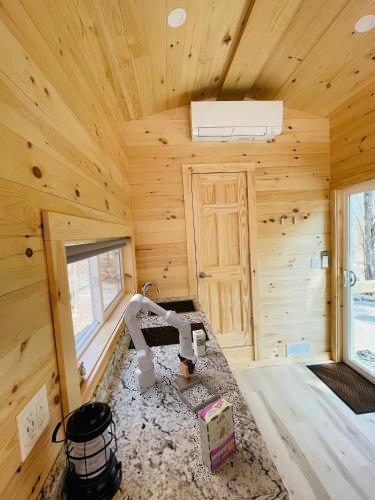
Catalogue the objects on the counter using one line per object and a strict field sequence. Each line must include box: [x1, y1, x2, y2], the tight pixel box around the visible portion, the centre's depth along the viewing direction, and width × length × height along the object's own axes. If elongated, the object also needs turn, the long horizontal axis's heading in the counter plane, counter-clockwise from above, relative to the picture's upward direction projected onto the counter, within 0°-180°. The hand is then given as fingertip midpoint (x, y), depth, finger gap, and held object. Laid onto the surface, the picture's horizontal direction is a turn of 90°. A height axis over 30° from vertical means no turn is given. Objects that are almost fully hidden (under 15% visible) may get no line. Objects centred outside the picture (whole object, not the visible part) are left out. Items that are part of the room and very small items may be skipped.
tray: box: [175, 377, 221, 413], centre depth 101 cm, size 14×14×2 cm
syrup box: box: [192, 329, 208, 358], centre depth 133 cm, size 6×6×14 cm
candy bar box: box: [197, 396, 237, 472], centre depth 74 cm, size 11×5×16 cm, turn 126°
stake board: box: [172, 374, 199, 389], centre depth 112 cm, size 10×7×6 cm
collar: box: [179, 359, 197, 378], centre depth 113 cm, size 7×6×5 cm
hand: (188, 370), depth 112 cm, fingers closed on collar, 5 cm apart
